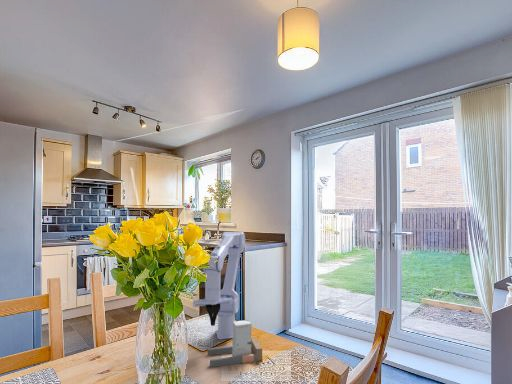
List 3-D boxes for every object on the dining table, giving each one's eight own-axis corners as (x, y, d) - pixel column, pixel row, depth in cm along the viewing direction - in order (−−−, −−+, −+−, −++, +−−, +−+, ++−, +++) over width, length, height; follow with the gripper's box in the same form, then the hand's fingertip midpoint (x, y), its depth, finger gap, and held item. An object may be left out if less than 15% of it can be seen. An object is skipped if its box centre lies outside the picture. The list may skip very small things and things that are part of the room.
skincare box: (235, 362, 103) (235, 325, 104) (231, 356, 108) (231, 321, 108) (252, 359, 105) (252, 323, 106) (248, 353, 110) (248, 319, 110)
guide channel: (207, 354, 109) (207, 342, 110) (255, 348, 113) (255, 337, 114) (210, 366, 100) (210, 354, 100) (262, 360, 104) (262, 348, 105)
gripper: (193, 291, 108) (193, 330, 107) (233, 289, 111) (233, 326, 110) (193, 287, 115) (192, 323, 114) (230, 284, 118) (230, 320, 117)
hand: (212, 324), depth 113 cm, fingers closed
